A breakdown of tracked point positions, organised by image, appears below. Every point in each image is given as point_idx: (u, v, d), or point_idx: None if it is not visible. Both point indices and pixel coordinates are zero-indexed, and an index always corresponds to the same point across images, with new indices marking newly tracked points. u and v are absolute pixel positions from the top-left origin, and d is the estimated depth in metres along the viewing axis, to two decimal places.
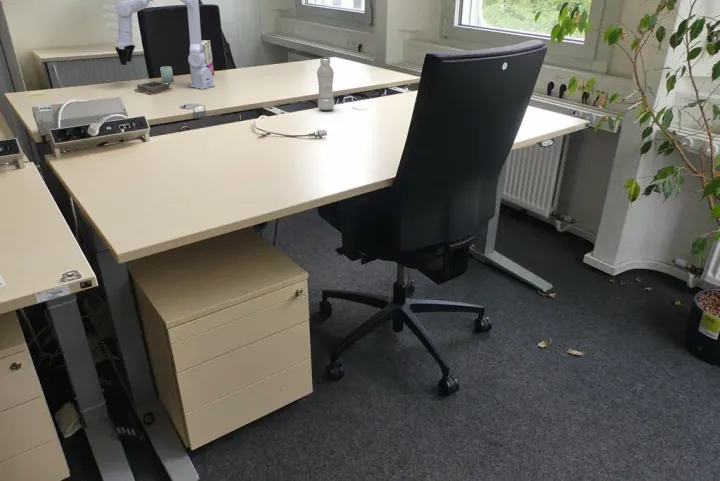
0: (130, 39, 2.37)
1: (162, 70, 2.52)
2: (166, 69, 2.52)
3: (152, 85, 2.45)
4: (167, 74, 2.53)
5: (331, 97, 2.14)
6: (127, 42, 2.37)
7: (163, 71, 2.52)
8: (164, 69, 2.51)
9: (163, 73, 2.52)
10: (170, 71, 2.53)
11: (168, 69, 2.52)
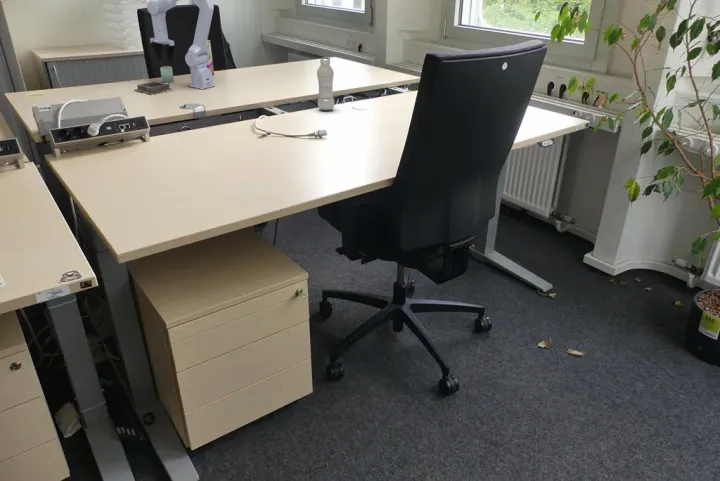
0: (167, 35, 2.48)
1: (162, 70, 2.52)
2: (166, 69, 2.52)
3: (152, 85, 2.45)
4: (167, 74, 2.53)
5: (331, 97, 2.14)
6: (167, 38, 2.47)
7: (163, 71, 2.52)
8: (164, 69, 2.51)
9: (163, 73, 2.52)
10: (170, 71, 2.53)
11: (168, 69, 2.52)
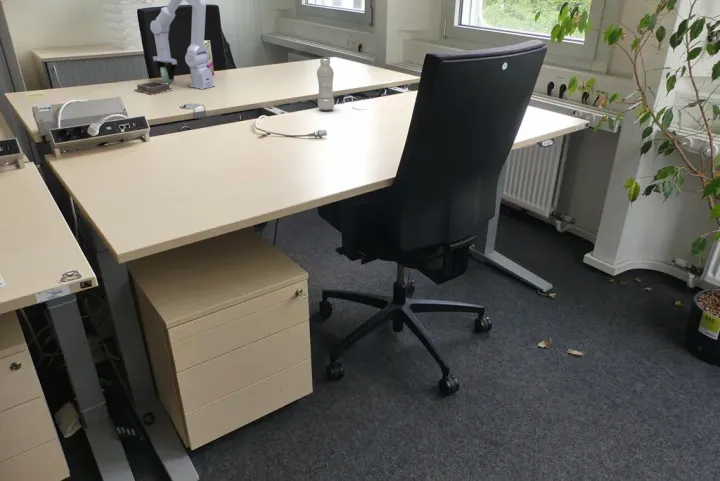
0: None
1: (162, 70, 2.52)
2: None
3: (152, 85, 2.45)
4: (167, 74, 2.53)
5: (331, 97, 2.14)
6: (170, 57, 2.51)
7: (163, 71, 2.52)
8: (164, 69, 2.51)
9: (163, 73, 2.52)
10: None
11: None
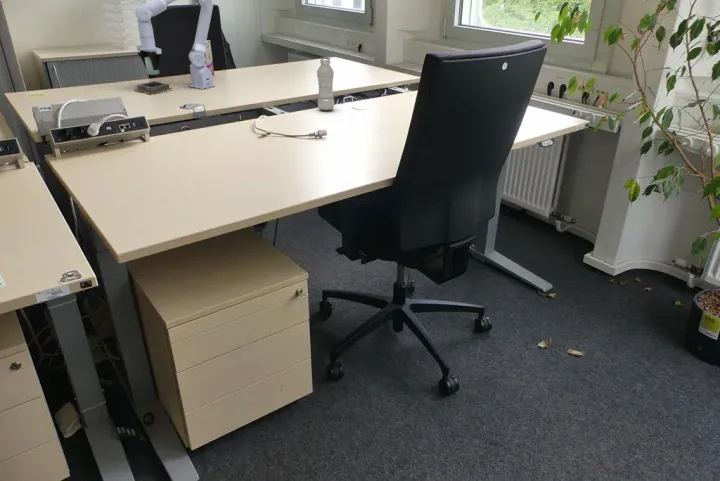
0: (154, 43, 2.36)
1: (147, 60, 2.36)
2: None
3: (152, 85, 2.45)
4: None
5: (331, 97, 2.14)
6: (154, 46, 2.35)
7: (148, 61, 2.36)
8: (149, 59, 2.36)
9: (148, 63, 2.37)
10: None
11: None
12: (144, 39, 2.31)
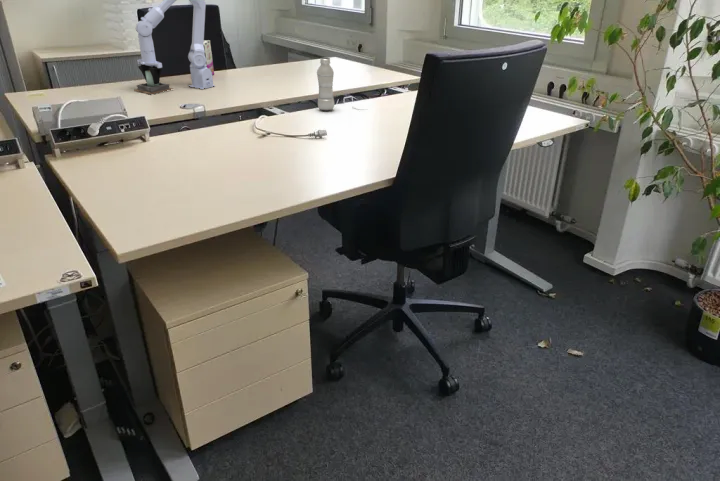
0: (155, 57, 2.37)
1: (147, 74, 2.37)
2: None
3: None
4: None
5: (331, 97, 2.14)
6: (155, 60, 2.36)
7: (149, 75, 2.37)
8: (150, 73, 2.37)
9: (149, 77, 2.38)
10: None
11: None
12: (145, 53, 2.32)
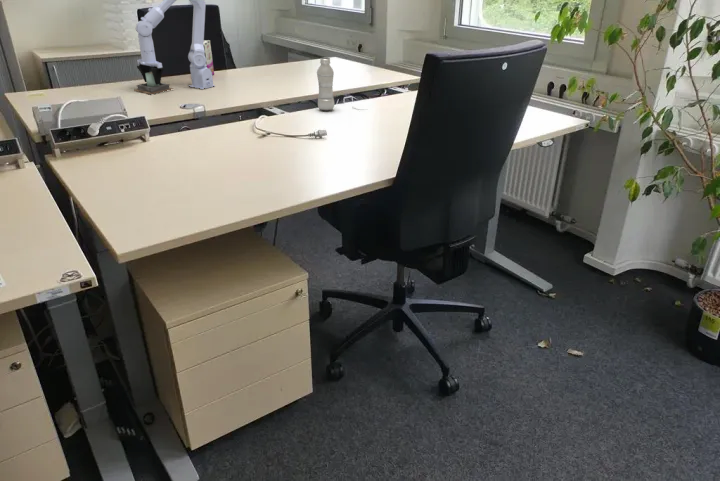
0: (155, 57, 2.37)
1: (148, 76, 2.37)
2: (152, 75, 2.37)
3: None
4: (153, 80, 2.38)
5: (331, 97, 2.14)
6: (155, 60, 2.36)
7: (149, 77, 2.38)
8: (150, 75, 2.37)
9: (149, 79, 2.38)
10: None
11: None
12: (145, 53, 2.32)
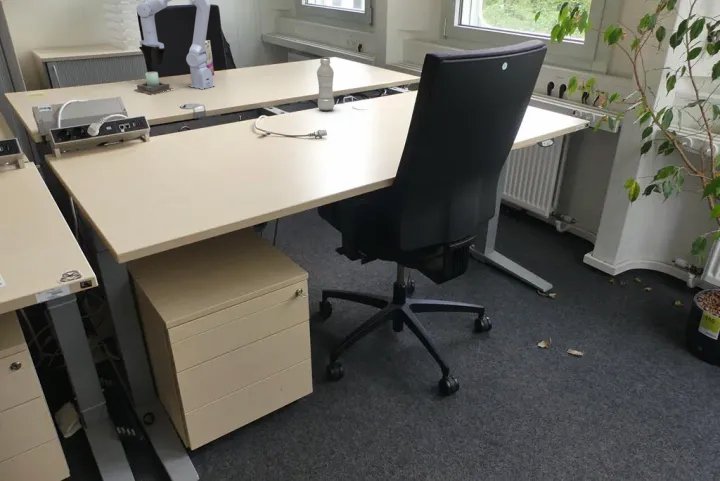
0: None
1: (148, 76, 2.37)
2: (152, 75, 2.37)
3: None
4: (153, 80, 2.38)
5: (331, 97, 2.14)
6: (157, 41, 2.45)
7: (149, 77, 2.38)
8: (150, 75, 2.37)
9: (149, 79, 2.38)
10: (156, 77, 2.39)
11: (154, 75, 2.38)
12: (147, 34, 2.41)
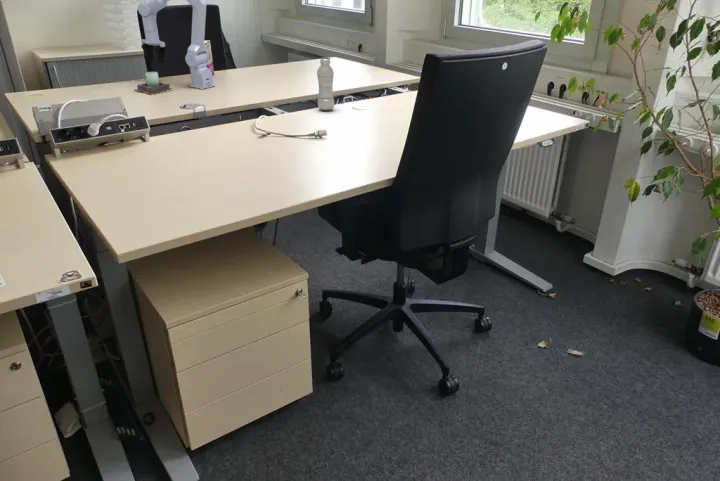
0: (158, 36, 2.49)
1: (148, 76, 2.37)
2: (152, 75, 2.37)
3: None
4: (153, 80, 2.38)
5: (331, 97, 2.14)
6: (158, 40, 2.48)
7: (149, 77, 2.38)
8: (150, 75, 2.37)
9: (149, 79, 2.38)
10: (156, 77, 2.39)
11: (154, 75, 2.38)
12: (148, 33, 2.44)
